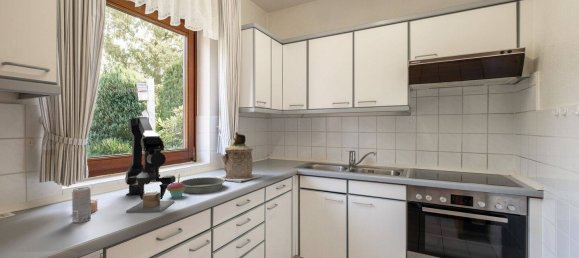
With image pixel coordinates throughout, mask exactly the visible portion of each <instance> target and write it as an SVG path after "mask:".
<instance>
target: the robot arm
mask: <svg viewBox="0 0 579 258" xmlns="http://www.w3.org/2000/svg"><path fill="white" fill-rule="evenodd" d="M127 125H128V126H127V127H128V129H129V131H130V133H131V135H132V148H131V149H132V151H131V163H130V164H129V166H128V167H127V171H126V174H125V178H124V182H125V183H126V185H128V192H127V193H125V195H126V196H137V195H138V196H139V198H140V200H141V201H143V195H145V185H149V184H150V183H161V184H159V189H160V190H159V192H160V201H162V200H163V198H164V196H165V193H166V191H167V187H168V186H169V185H170V184H172V183H176V179H177V178H176V176H175V175H174V174H173V175H164V176H162V177H161V174H160V169H161V166H163V165H164V164H165V163H166V161H167V159H166V155H165V154H164V153H162V152H164V151H165V145H164V141H163V140H162V137H161V135H160V134H159V133H157V132H155V131H154V129H153V127H152V125H151V122H150V118H149V116H146V115H145V116H143V115H142V116H141V115H140V116H139V115H138V116H136V117H133V118H130V119H129V120H128V123H127ZM143 152H144V154H143ZM143 161H144V162H143ZM142 162H143V163H142Z"/></svg>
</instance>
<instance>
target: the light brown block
mask: <svg viewBox="0 0 579 258" xmlns="http://www.w3.org/2000/svg"><path fill="white" fill-rule="evenodd" d="M97 211H98V200H97V199H91V214H93V213H96V212H97Z"/></svg>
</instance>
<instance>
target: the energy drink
mask: <svg viewBox="0 0 579 258" xmlns="http://www.w3.org/2000/svg"><path fill="white" fill-rule="evenodd" d="M91 193H92V191H91V188H90V187H88V186H87V187H76V188H73V189H72V193H71V197H72V199H71V207H72V208H71V209H72V211H71V214H72V217H71V218H72V221H71V222H72V223H74V224H81V223H87V222H88V221H90V220H91V218H92V217H91V215H92V213H91V200H92V198H91Z"/></svg>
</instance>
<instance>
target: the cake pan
mask: <svg viewBox="0 0 579 258" xmlns="http://www.w3.org/2000/svg"><path fill="white" fill-rule="evenodd" d="M180 182H181V183H183V184H184V185H185V186H186V187H185V190H184V191H183V193H187V194H205V193H212V192H217V191H220V190H221V189H222V187H223V184H224V182H225V180H224V179H221V178H215V177H214V176H213V177H209V176H208V177H207V176H206V177H194V178H193V177H192V178H186V179H183V180H181V181H180Z"/></svg>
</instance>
